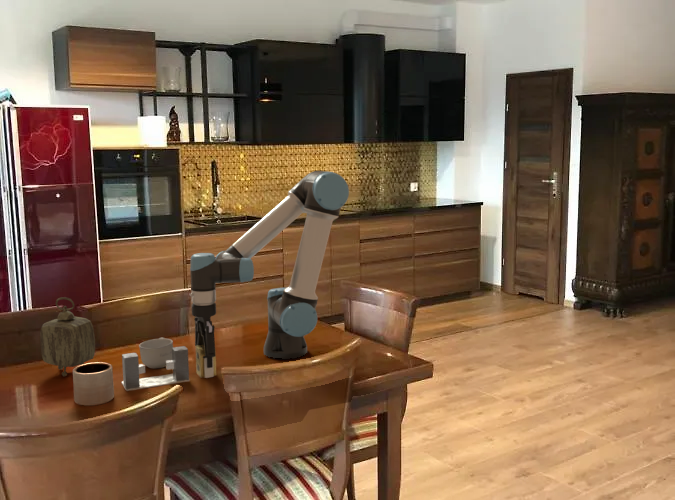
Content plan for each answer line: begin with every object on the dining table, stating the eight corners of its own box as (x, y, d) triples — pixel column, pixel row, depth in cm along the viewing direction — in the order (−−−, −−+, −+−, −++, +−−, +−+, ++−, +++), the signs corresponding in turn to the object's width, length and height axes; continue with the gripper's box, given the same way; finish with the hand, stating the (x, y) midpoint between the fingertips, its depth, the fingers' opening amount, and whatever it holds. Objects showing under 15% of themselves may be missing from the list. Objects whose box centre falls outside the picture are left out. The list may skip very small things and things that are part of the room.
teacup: (165, 372, 227) (164, 347, 225) (134, 370, 229) (132, 346, 228) (183, 358, 240) (182, 336, 239) (153, 357, 242) (152, 334, 241)
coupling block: (211, 370, 228) (211, 343, 226) (216, 375, 223) (215, 347, 222) (196, 373, 225) (195, 345, 224) (200, 377, 221) (199, 350, 220)
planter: (80, 393, 208) (78, 362, 206) (118, 392, 208) (116, 361, 207) (69, 407, 197) (67, 374, 195) (109, 406, 198) (107, 373, 196)
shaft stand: (182, 373, 225) (181, 343, 223) (189, 380, 218) (188, 349, 216) (121, 382, 217) (119, 351, 215) (126, 391, 209) (124, 358, 208)
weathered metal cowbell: (96, 372, 226) (92, 296, 223) (77, 381, 218) (72, 302, 214) (59, 367, 231) (54, 293, 227) (40, 376, 223) (34, 299, 219)
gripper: (183, 297, 228) (185, 366, 231) (200, 310, 210) (203, 384, 214) (206, 295, 231) (208, 363, 235) (225, 308, 214) (226, 381, 217)
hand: (205, 373), depth 224 cm, fingers open, 7 cm apart
